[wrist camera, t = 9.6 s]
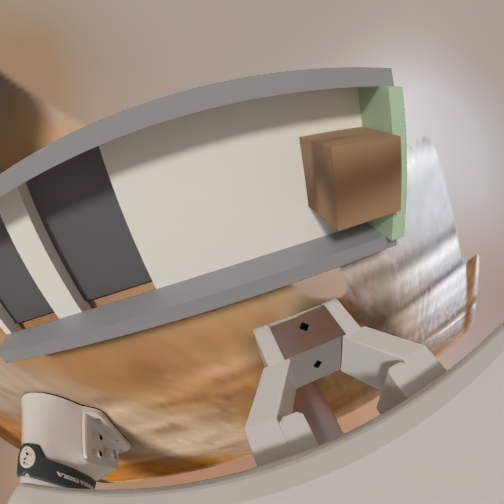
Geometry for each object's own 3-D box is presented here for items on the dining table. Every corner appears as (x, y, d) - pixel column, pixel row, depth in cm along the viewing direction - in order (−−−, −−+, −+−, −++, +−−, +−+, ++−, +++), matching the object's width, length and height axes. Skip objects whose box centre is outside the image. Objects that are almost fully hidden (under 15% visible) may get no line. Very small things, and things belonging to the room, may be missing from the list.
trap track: (367, 223, 29) (402, 250, 24) (18, 332, 24) (4, 369, 19) (355, 70, 20) (399, 68, 15) (-49, 214, 15) (-81, 241, 10)
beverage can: (306, 371, 39) (349, 454, 27) (269, 385, 39) (304, 473, 26) (302, 348, 36) (352, 442, 23) (260, 365, 36) (300, 464, 23)
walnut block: (365, 190, 24) (400, 210, 20) (308, 206, 24) (338, 231, 19) (361, 126, 21) (400, 136, 17) (298, 137, 20) (331, 147, 16)
